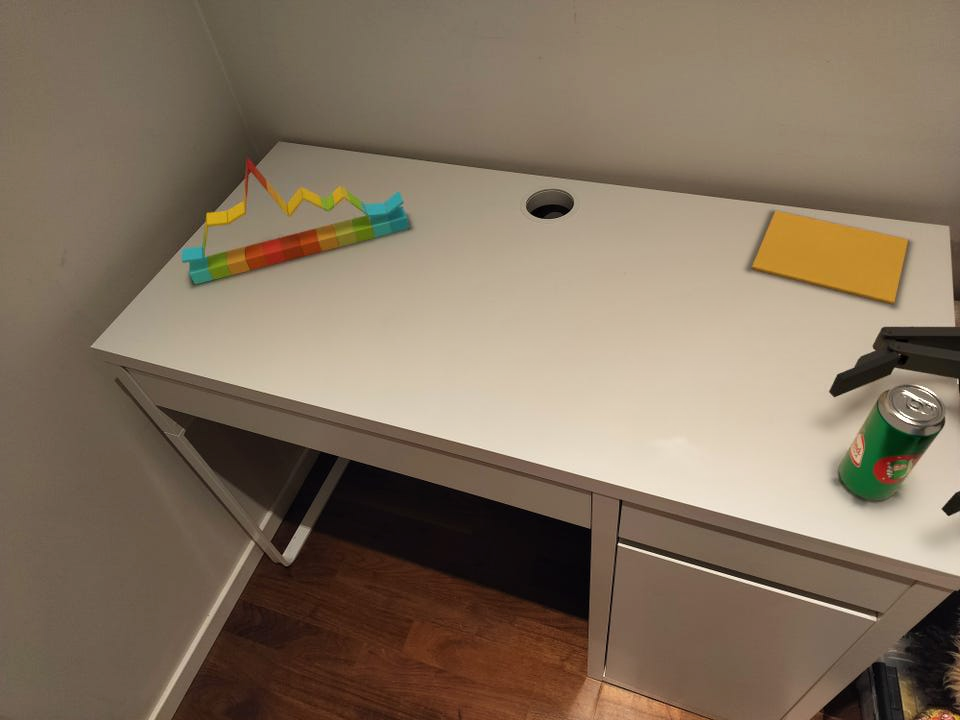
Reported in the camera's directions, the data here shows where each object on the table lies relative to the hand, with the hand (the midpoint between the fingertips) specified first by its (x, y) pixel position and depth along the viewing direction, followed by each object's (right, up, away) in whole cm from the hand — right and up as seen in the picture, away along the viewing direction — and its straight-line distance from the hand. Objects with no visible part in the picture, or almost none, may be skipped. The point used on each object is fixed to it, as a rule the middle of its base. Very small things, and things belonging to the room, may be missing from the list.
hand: (889, 441), depth 59 cm
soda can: (+1, -4, +5) cm, 7 cm away
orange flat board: (+8, +20, +25) cm, 33 cm away
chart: (-61, +23, +36) cm, 74 cm away
